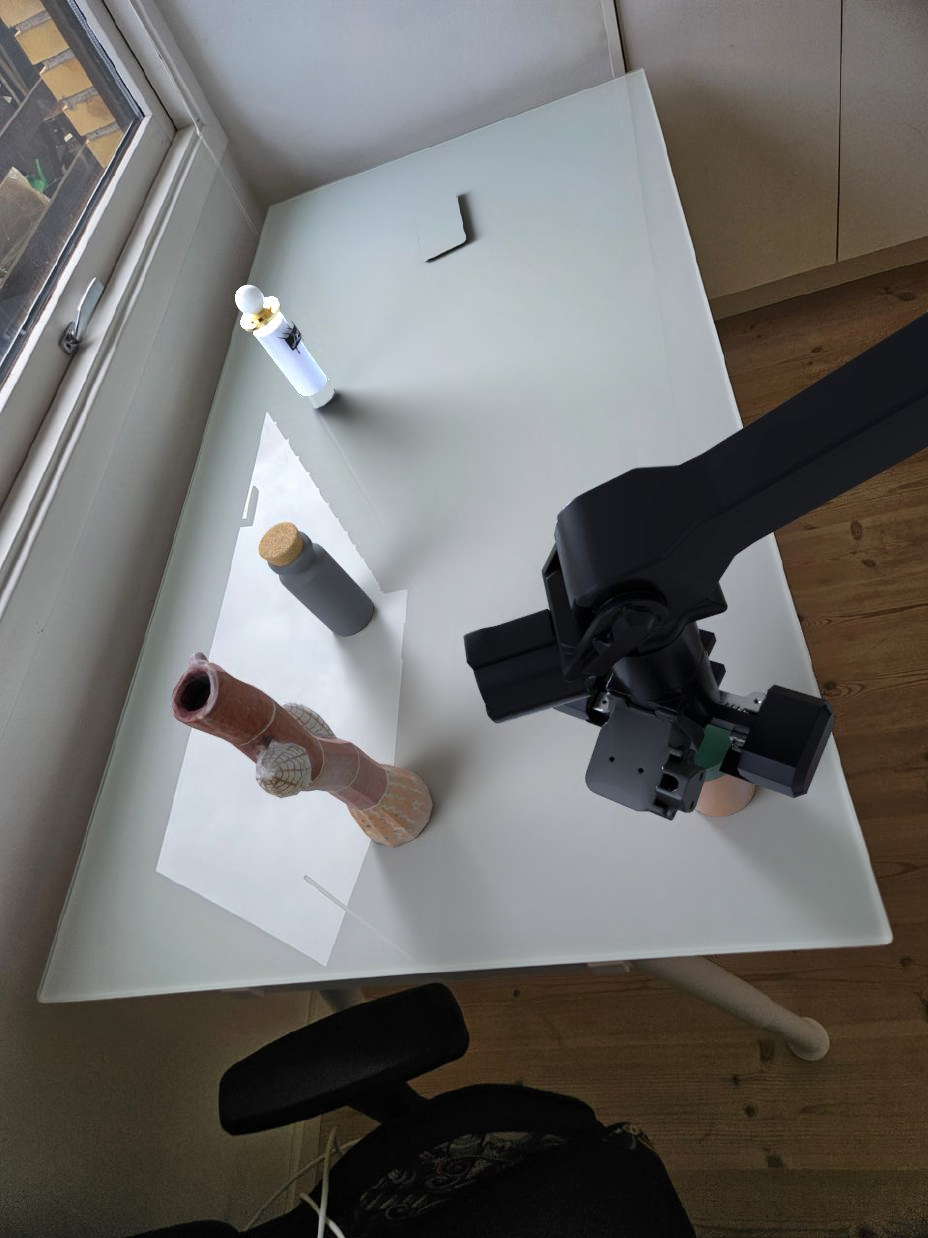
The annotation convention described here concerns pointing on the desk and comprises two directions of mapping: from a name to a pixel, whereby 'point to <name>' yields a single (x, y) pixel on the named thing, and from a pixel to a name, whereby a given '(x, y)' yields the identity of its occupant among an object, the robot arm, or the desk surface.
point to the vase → (301, 752)
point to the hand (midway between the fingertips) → (699, 752)
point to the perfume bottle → (279, 340)
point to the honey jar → (724, 796)
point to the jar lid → (713, 751)
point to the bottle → (316, 579)
